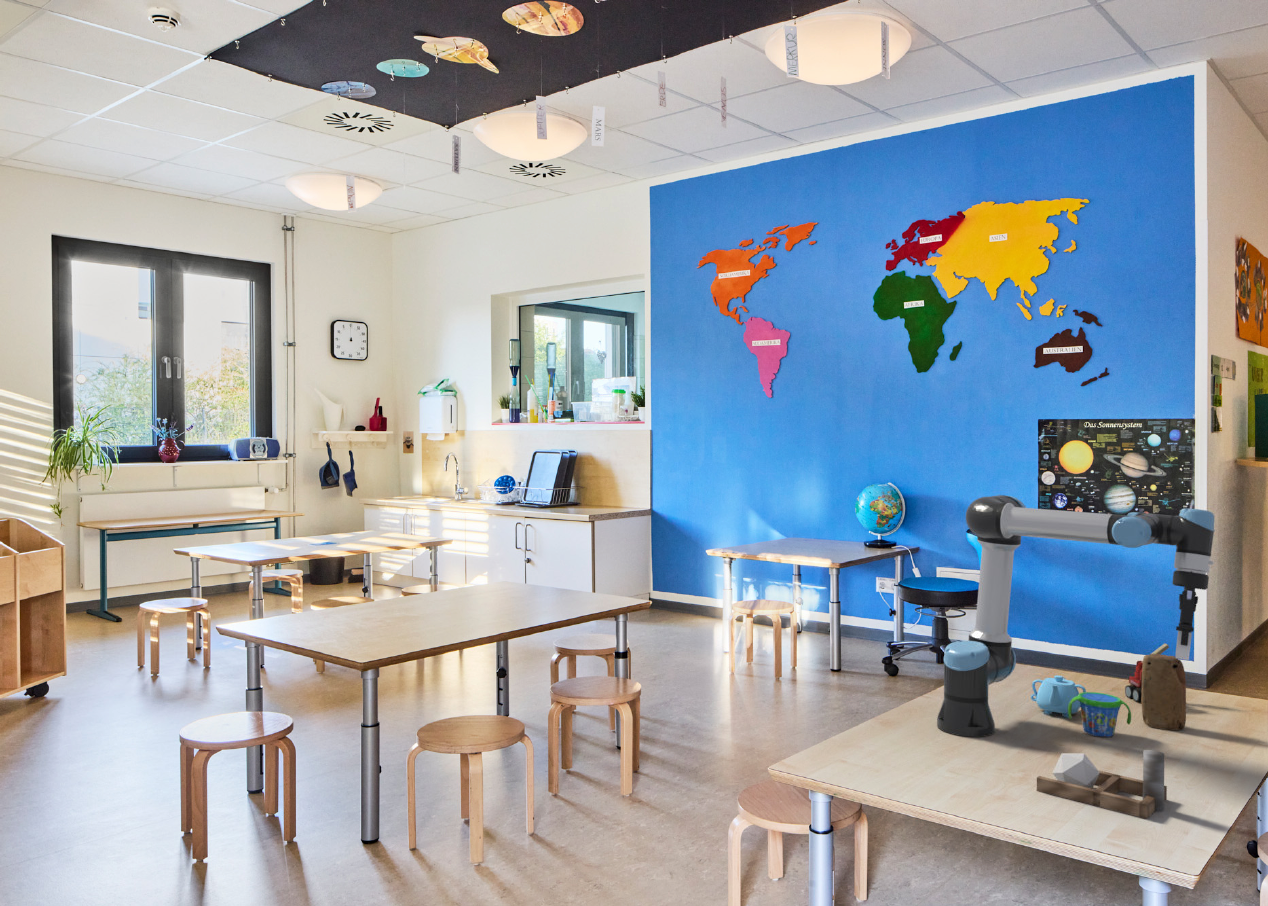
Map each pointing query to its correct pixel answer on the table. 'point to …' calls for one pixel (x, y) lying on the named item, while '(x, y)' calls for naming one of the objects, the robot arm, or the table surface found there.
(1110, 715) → the snack cup
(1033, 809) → the table surface
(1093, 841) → the table surface
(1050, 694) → the teapot
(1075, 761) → the die
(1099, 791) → the frame
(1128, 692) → the toy fire truck
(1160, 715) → the block
